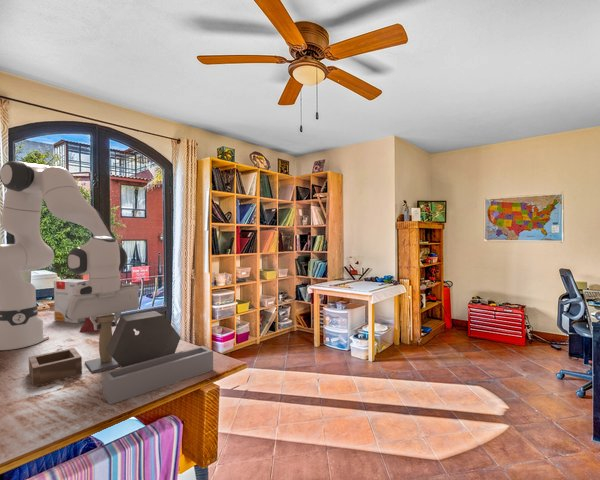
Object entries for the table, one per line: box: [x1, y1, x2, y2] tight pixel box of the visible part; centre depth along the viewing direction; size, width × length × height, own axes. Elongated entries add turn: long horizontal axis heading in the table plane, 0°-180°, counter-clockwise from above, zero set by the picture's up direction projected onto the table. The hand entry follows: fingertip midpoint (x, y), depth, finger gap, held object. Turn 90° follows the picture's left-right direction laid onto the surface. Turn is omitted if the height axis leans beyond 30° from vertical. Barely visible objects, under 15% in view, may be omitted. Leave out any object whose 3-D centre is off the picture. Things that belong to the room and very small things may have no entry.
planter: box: [106, 310, 181, 368], centre depth 99 cm, size 17×8×21 cm
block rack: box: [101, 345, 214, 405], centre depth 92 cm, size 7×29×6 cm, turn 135°
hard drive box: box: [53, 278, 89, 324], centre depth 159 cm, size 16×8×20 cm, turn 73°
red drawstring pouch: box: [79, 317, 100, 333], centre depth 144 cm, size 9×9×9 cm
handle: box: [96, 313, 116, 363], centre depth 105 cm, size 5×6×15 cm
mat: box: [84, 357, 121, 374], centre depth 105 cm, size 10×10×1 cm
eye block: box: [28, 347, 83, 387], centre depth 98 cm, size 12×12×5 cm
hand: (105, 327), depth 105 cm, fingers closed on handle, 3 cm apart
